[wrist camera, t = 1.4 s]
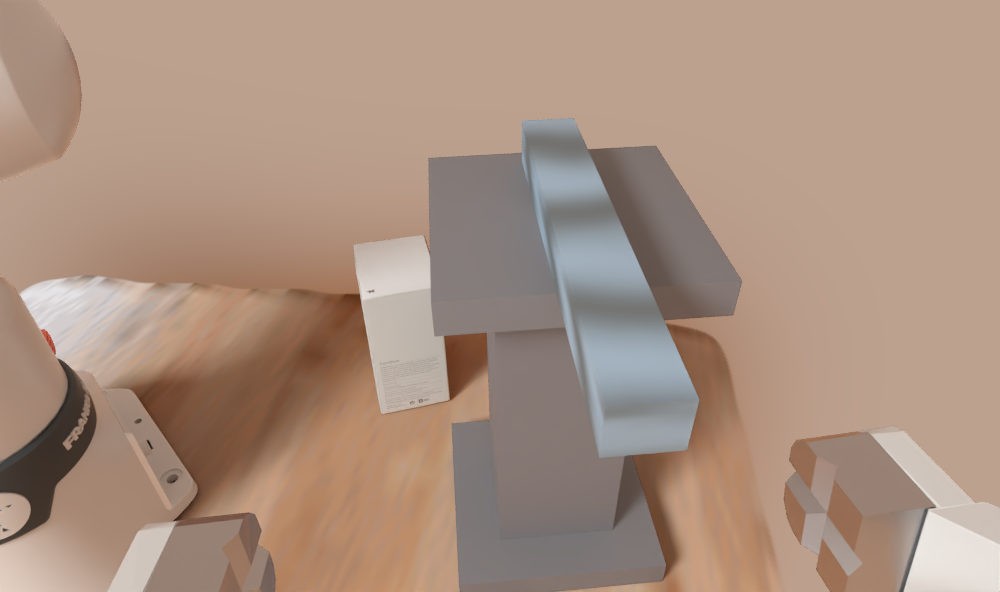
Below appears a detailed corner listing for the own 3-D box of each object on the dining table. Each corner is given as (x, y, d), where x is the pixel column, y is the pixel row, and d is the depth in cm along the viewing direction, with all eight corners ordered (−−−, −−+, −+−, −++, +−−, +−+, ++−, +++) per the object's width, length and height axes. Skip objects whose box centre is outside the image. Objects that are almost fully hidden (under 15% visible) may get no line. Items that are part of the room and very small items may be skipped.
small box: (451, 402, 59) (441, 286, 51) (380, 416, 58) (359, 300, 50) (435, 343, 65) (424, 232, 57) (371, 355, 64) (350, 243, 56)
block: (686, 450, 22) (699, 399, 21) (599, 457, 22) (605, 407, 21) (571, 157, 40) (573, 118, 38) (521, 160, 39) (522, 120, 38)
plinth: (662, 580, 46) (742, 281, 30) (460, 600, 45) (430, 302, 29) (615, 426, 57) (655, 145, 41) (453, 439, 56) (428, 158, 40)
